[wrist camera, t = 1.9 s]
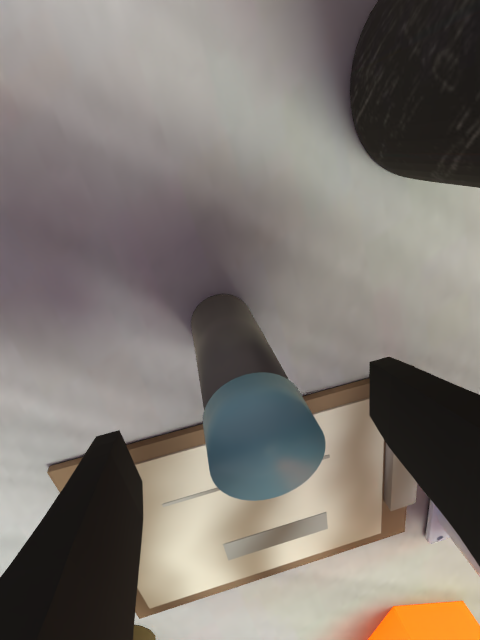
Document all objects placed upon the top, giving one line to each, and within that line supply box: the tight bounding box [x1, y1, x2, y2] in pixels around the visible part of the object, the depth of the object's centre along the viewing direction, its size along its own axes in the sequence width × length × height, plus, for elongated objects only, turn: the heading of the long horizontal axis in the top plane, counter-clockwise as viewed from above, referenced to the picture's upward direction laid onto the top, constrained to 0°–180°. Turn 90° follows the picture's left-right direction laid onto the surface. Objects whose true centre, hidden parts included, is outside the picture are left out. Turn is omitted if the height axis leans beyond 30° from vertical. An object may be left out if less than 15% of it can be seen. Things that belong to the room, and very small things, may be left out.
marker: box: [191, 294, 326, 501], centre depth 12 cm, size 3×3×8 cm
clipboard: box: [47, 366, 417, 619], centre depth 21 cm, size 20×15×1 cm
